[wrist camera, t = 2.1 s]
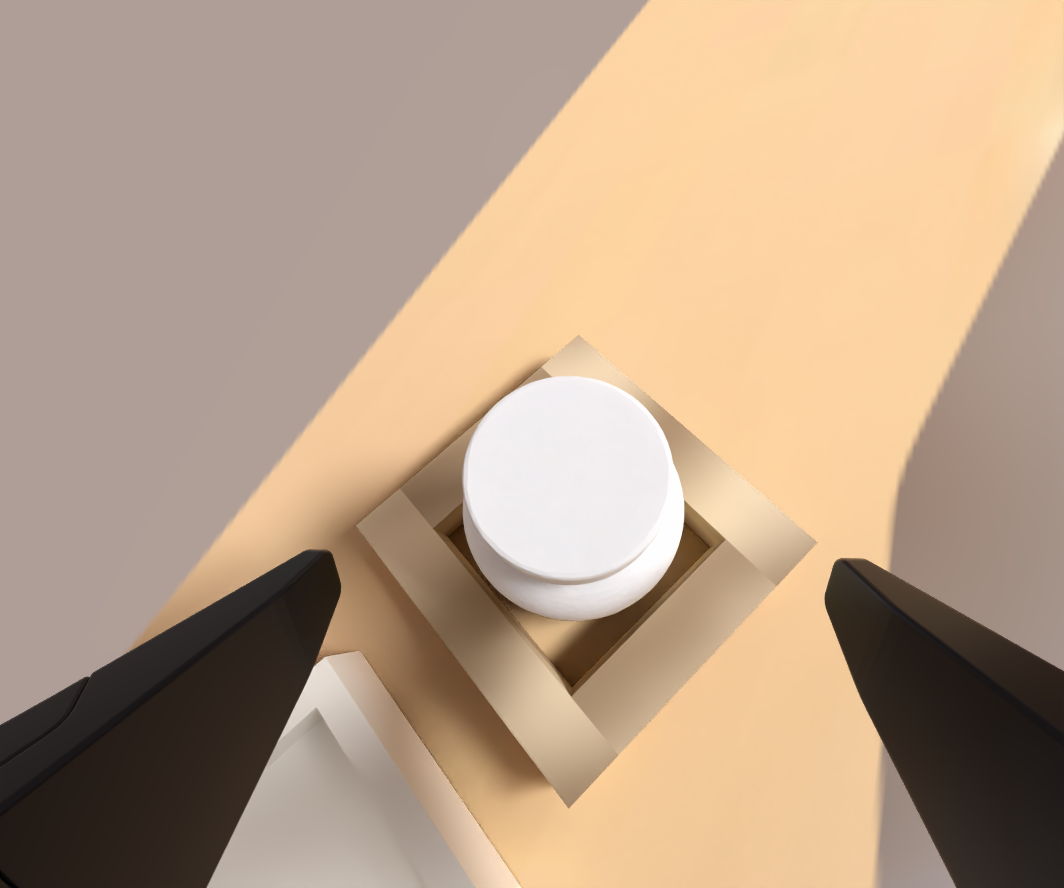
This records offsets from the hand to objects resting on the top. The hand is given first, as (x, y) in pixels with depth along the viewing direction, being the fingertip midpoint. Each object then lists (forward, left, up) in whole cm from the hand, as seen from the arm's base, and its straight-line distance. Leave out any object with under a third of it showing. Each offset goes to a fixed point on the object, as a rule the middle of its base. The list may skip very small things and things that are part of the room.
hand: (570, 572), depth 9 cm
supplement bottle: (+1, -1, -9) cm, 10 cm away
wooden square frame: (+1, -1, -9) cm, 9 cm away
